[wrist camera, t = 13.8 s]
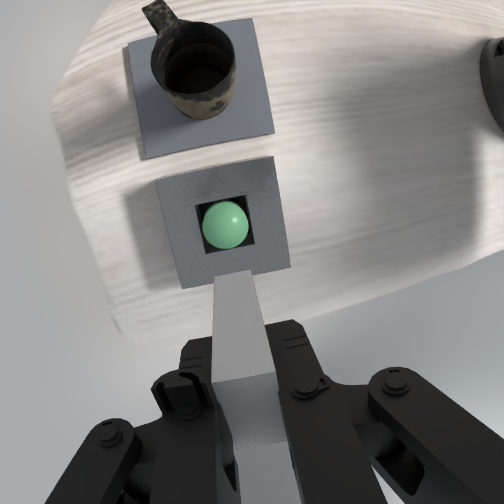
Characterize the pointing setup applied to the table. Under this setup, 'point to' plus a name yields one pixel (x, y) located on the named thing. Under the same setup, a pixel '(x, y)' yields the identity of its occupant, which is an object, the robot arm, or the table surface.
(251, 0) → the table surface
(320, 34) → the table surface
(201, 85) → the mug
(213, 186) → the button box
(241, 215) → the button
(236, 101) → the mat
